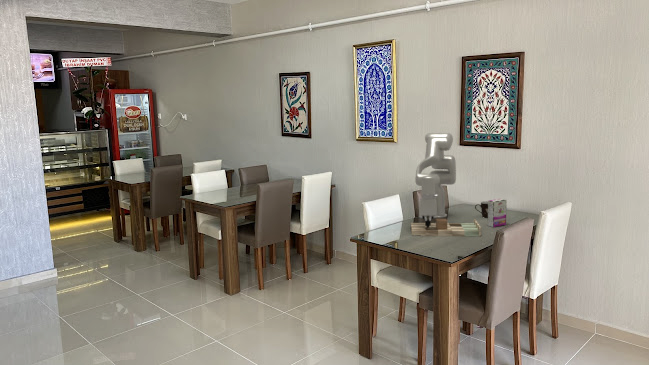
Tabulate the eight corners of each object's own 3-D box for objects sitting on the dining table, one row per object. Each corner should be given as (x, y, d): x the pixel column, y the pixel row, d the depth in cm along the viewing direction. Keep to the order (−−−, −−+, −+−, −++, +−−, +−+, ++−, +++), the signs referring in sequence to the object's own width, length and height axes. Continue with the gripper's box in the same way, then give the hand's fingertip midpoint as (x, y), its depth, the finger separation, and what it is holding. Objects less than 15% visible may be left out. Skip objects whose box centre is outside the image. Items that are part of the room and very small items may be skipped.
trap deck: (410, 227, 304) (410, 219, 303) (475, 228, 298) (475, 219, 297) (411, 235, 285) (411, 226, 284) (480, 236, 280) (480, 226, 279)
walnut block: (435, 226, 292) (436, 218, 291) (446, 226, 291) (446, 218, 290) (436, 229, 286) (436, 221, 286) (447, 229, 285) (447, 221, 285)
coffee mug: (495, 216, 327) (495, 201, 326) (492, 219, 320) (492, 204, 319) (477, 214, 334) (478, 200, 332) (474, 217, 326) (474, 202, 325)
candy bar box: (500, 223, 308) (500, 198, 305) (506, 225, 303) (507, 199, 301) (487, 226, 303) (487, 200, 300) (493, 227, 298) (494, 201, 296)
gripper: (440, 195, 289) (440, 225, 292) (414, 195, 291) (414, 225, 294) (441, 197, 282) (441, 228, 284) (415, 197, 284) (415, 228, 287)
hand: (427, 226), depth 289 cm, fingers closed
